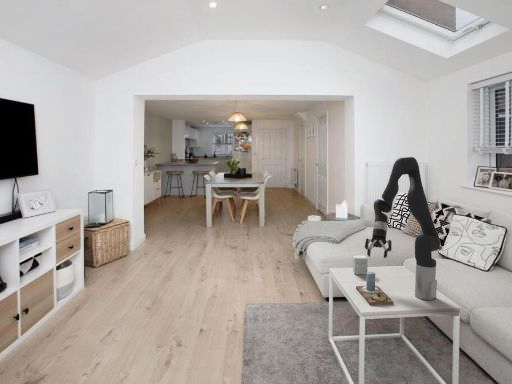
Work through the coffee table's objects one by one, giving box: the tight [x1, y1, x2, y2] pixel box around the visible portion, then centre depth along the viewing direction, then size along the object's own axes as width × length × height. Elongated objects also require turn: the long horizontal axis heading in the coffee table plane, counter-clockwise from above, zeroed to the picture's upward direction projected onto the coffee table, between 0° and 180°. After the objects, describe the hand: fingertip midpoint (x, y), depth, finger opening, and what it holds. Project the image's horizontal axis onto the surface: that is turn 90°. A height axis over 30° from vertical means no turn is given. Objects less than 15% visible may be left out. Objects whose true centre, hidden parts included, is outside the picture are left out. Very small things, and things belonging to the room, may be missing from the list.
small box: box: [352, 255, 369, 275], centre depth 207 cm, size 8×6×10 cm
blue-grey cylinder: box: [365, 271, 376, 291], centre depth 177 cm, size 4×4×9 cm
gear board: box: [355, 285, 394, 306], centre depth 173 cm, size 20×12×5 cm, turn 2°
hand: (376, 256), depth 186 cm, fingers open, 8 cm apart
